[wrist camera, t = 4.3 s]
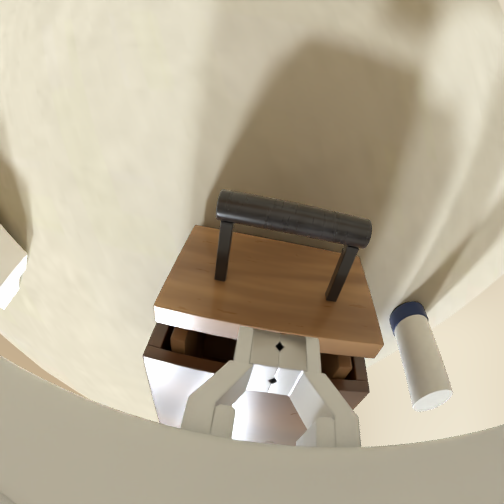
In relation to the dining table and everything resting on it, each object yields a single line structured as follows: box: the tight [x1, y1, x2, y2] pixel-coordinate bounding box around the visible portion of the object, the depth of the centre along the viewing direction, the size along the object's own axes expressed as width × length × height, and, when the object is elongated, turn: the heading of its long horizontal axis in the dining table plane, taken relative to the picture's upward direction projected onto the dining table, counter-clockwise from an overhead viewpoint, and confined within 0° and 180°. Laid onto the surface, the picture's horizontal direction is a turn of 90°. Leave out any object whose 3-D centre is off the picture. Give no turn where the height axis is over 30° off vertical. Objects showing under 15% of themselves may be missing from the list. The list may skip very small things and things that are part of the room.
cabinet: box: [143, 322, 369, 446], centre depth 22 cm, size 15×13×10 cm
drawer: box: [154, 189, 384, 380], centre depth 19 cm, size 18×11×8 cm, turn 171°
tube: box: [390, 302, 453, 411], centre depth 20 cm, size 3×3×9 cm
